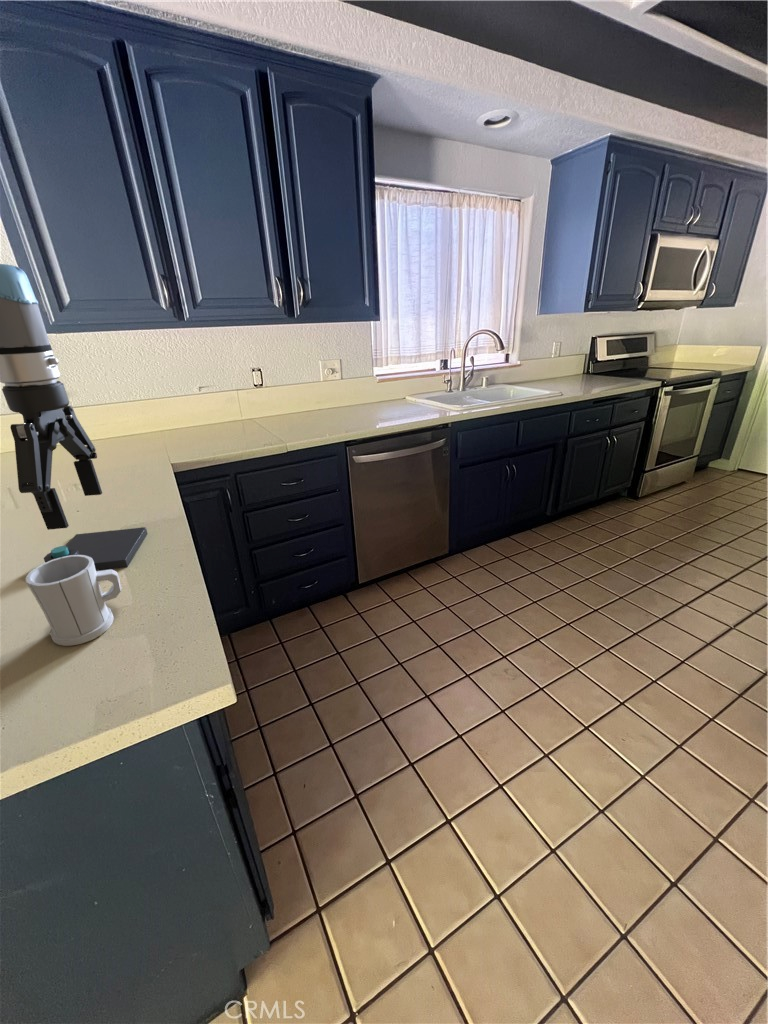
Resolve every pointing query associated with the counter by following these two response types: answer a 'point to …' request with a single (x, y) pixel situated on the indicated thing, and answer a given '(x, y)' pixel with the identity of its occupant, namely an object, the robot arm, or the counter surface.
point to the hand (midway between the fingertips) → (77, 510)
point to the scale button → (59, 552)
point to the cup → (73, 598)
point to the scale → (107, 547)
